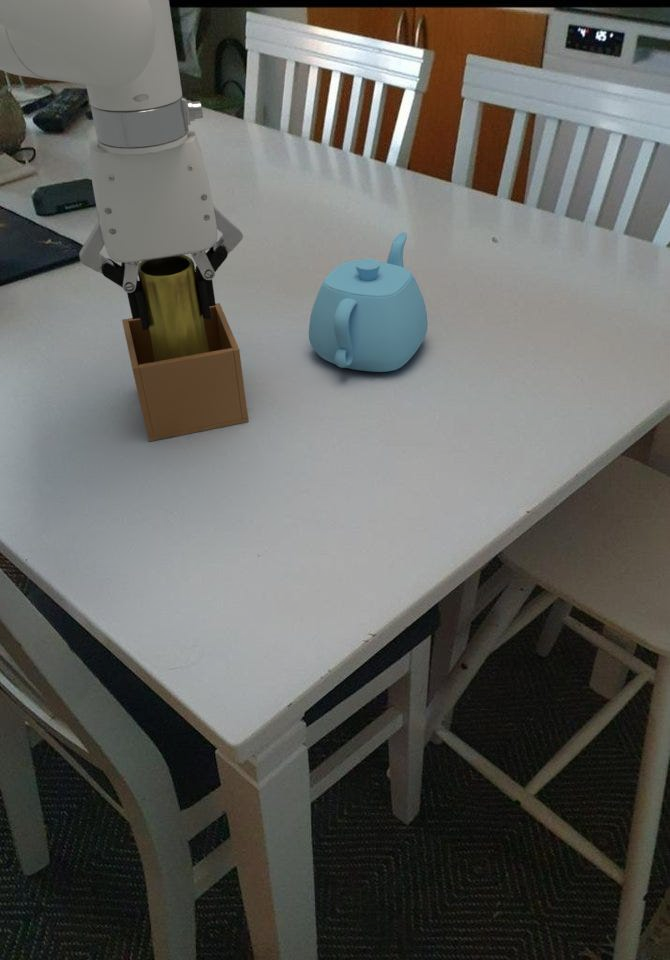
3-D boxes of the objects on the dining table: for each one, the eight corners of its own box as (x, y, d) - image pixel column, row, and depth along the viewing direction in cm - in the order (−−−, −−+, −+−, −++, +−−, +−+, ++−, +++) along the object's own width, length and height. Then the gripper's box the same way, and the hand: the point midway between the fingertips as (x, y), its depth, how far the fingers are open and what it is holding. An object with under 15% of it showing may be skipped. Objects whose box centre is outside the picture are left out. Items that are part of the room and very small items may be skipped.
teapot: (455, 235, 91) (394, 305, 79) (450, 320, 98) (393, 397, 85) (353, 220, 95) (280, 283, 83) (355, 302, 102) (288, 372, 90)
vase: (193, 415, 81) (170, 284, 72) (146, 400, 84) (118, 271, 75) (229, 385, 85) (211, 257, 76) (183, 372, 88) (160, 246, 79)
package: (148, 441, 81) (132, 368, 75) (137, 389, 88) (121, 319, 83) (248, 421, 83) (239, 349, 77) (229, 372, 90) (219, 302, 85)
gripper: (232, 100, 72) (252, 288, 84) (34, 123, 69) (83, 315, 80) (250, 123, 67) (269, 321, 78) (35, 149, 63) (88, 352, 75)
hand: (174, 316), depth 79 cm, fingers closed on vase, 5 cm apart
